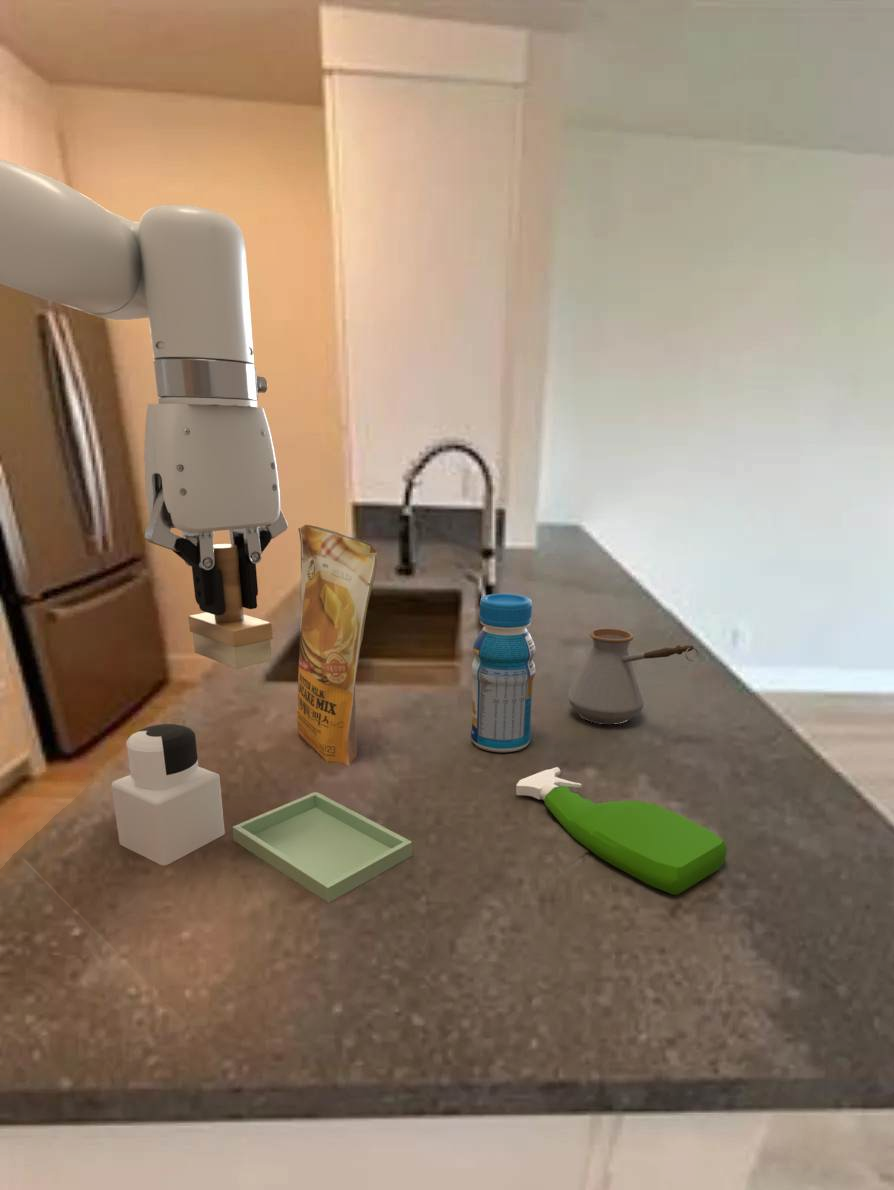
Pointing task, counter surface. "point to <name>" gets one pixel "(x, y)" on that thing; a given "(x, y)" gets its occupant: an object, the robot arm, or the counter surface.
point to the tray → (322, 845)
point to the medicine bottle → (166, 796)
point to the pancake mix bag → (331, 638)
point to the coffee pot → (612, 678)
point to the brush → (231, 621)
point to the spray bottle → (632, 834)
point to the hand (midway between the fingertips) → (228, 607)
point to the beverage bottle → (503, 674)
